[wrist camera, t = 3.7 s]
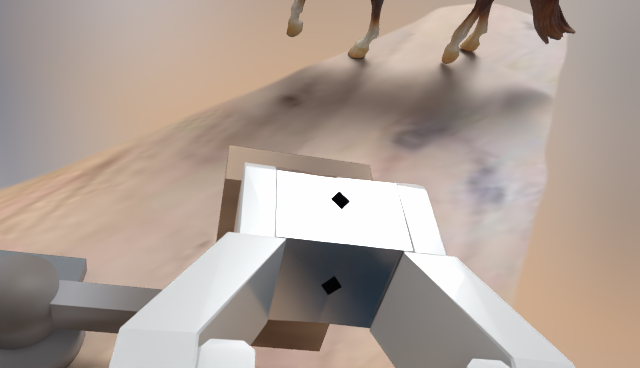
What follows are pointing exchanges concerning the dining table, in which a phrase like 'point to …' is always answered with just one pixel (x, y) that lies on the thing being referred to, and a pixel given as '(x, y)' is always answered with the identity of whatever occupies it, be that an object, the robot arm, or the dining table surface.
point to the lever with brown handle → (124, 302)
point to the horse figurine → (544, 17)
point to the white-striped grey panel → (62, 344)
